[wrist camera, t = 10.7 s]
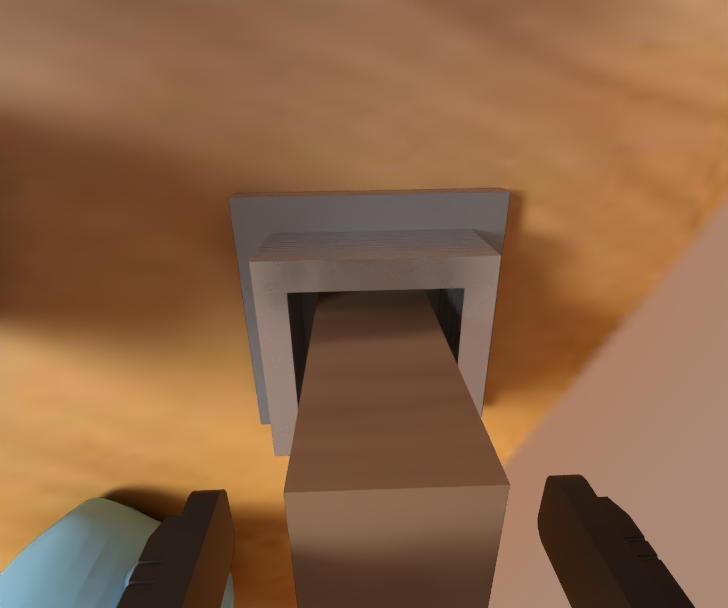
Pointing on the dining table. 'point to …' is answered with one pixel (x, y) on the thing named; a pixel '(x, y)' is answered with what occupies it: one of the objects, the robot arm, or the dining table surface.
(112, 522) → the teapot
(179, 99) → the dining table surface
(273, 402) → the dock
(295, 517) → the long tan beam
